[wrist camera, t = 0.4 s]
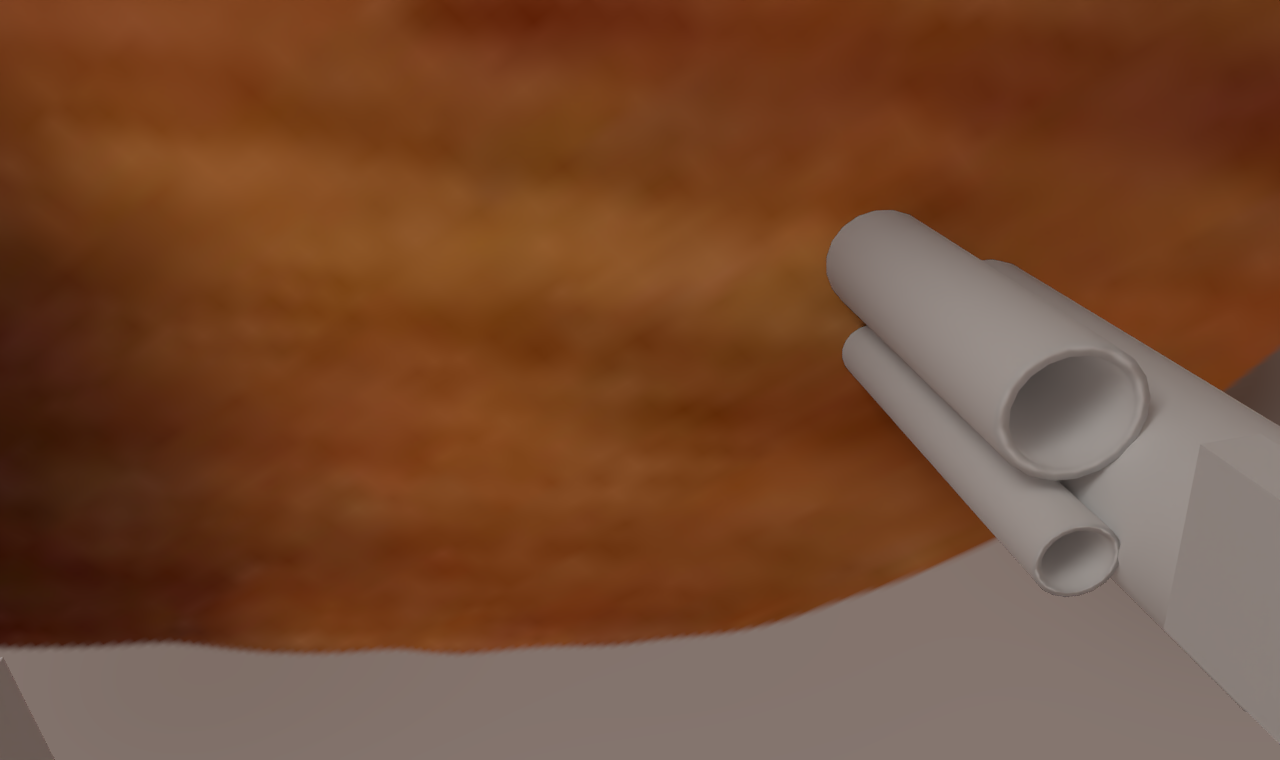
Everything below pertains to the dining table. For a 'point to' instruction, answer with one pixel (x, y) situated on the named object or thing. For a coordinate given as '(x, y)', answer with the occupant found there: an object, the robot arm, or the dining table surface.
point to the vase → (1032, 407)
